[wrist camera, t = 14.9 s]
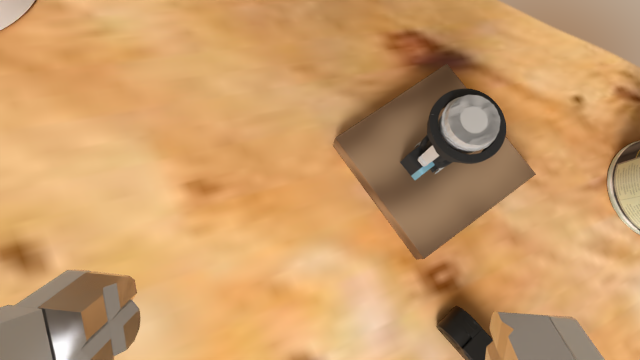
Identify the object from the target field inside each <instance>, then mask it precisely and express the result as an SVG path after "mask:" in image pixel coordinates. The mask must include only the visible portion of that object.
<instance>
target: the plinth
mask: <svg viewBox="0 0 640 360" xmlns="http://www.w3.org/2000/svg"><path fill="white" fill-rule="evenodd" d="M456 89H467V88H466V87H465V86H464V85H463V83H462V82H461V81H460V80H459V78H458V77H457V76H456V75H455V73H454V72H453V71H452V70H451V68H450V67H449V66H448V65H447V64H446V65H444V66H443V67H441V68H440V69H438V70H437V71H435V72H434V73H432V74H431V75H429V76H428V77H426V78H425V79H423V80H422V81H420V82H419V83H417V84H416V85H414V86H413V87H411V88H410V89H408V90H407V91H405V92H404V93H402V94H401V95H399V96H398V97H396V98H395V99H393V100H392V101H390V102H389V103H387V104H386V105H384V106H383V107H381V108H380V109H378V110H377V111H375V112H374V113H372V114H371V115H369V116H368V117H366V118H365V119H363V120H362V121H360V122H359V123H357V124H356V125H354V126H353V127H351V128H350V129H348V130H347V131H345V132H344V133H342V134H341V135H339V136H338V137H336V138H335V141H334V145H333V146H334V148H335V149H336V151H337V152H338V153H339V155H340V156H341V157H342V159H343V160H344V161H345V163H346V164H347V166H348V167H349V168H350V170H351V171H352V172H353V174H354V175H355V176H356V178H357V179H358V181H359V182H360V183H361V185H362V186H363V187H364V189H365V190H366V192H367V193H368V194H369V196H370V197H371V198H372V200H373V201H374V202H375V204H376V205H377V207H378V208H379V209H380V211H381V212H382V213H383V215H384V216H385V218H386V219H387V220H388V222H389V223H390V224H391V226H392V227H393V228H394V230H395V231H396V233H397V234H398V235H399V237H400V238H401V239H402V241H403V242H404V244H405V245H406V246H407V248H408V249H409V250H410V252H411V253H412V254H413V256H414V257H415V259H425V258H426V257H427V256H429V255H430V254H431V253H433V252H434V251H435V250H436V249H438V248H439V247H440V246H442V245H443V244H444V243H446V242H447V241H448V240H450V239H451V238H452V237H454V236H455V235H456V234H458V233H459V232H460V231H462V230H463V229H464V228H466V227H467V226H468V225H470V224H471V223H472V222H473V221H475V220H476V219H477V218H479V217H480V216H481V215H483V214H484V213H485V212H487V211H488V210H489V209H491V208H492V207H493V206H495V205H496V204H497V203H499V202H500V201H501V200H503V199H504V198H505V197H506V196H508V195H509V194H510V193H512V192H513V191H514V190H516V189H517V188H518V187H520V186H521V185H522V184H524V183H525V182H526V181H528V180H529V179H530V178H532V177H533V176H534V175H536V174H535V173H534V171H533V170H532V169H531V168H530V166H529V165H528V164H527V163H526V161H525V160H524V159H523V158H522V157H521V155H520V154H519V153H518V152H517V150H516V149H515V148H514V147H513V145H512V144H511V143H510V142H509V140H508V139H507V138H506V137H505V140H504V142H503V144H502V146H501V148H500V149H499V151H498V152H497V153H496V154H494V155H493V156H492V157H490V158H489V159H487V160H485V161H482V162H479V163H474V164H465V163H457V162H452V163H451V164H449V165H448V166H446V167H444V168H443V169H442V170H440V171H439V172H437V171H438V170H439V169H437V170H436V171H435V172H433V173H432V171H431V170H430V169H429V170H428V171H426V172H425V173H424V174H423V175H421V176H420V177H419V178H418V179H416V180H414V179H413V178H412V177H411V175H410V174H409V173H408V172H407V170H406V169H405V168H404V167H403V165H402V164H401V163H400V162H401V161H402V160H403V159H404V158H405V157H406V156H407V155H408V154H409V153H410V152H412V151H413V150H414V149H416V148H417V147H418V146H419V145H418V146H417V147H416V148H414V147H415V146H416V145H417V144H418V143H419V142H421V141H422V139H423V138H424V137H425V136H426V135H427V122H428V119H429V115H430V112H431V109H432V107H433V106H434V104H435V103H436V102H437V101H438V99H439V98H440V97H442V96H443V95H444V94H446V93H448V92H450V91H452V90H456ZM445 108H446V107H445ZM445 108H443V109H442V110H441V112H440V114H439V118H440V117H441V115H442V113H443V111H444V109H445ZM439 118H438V119H439ZM482 150H483V149H482ZM482 150H479V151H475V152H474V153H471V154H477V153H481V152H482ZM436 172H437V173H436ZM435 173H436V174H435Z"/></svg>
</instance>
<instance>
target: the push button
mask: <svg viewBox="0 0 640 360" xmlns="http://www.w3.org/2000/svg"><path fill="white" fill-rule="evenodd" d="M445 107H446V108H445ZM443 108H445V109H444V111H443V113H442V115H441V117H440V118H439V114H440V112H441V110H442V109H443ZM438 118H439V119H438ZM505 136H506V122H505V118H504V115H503V113H502V111H501V109H500V108H499V106H498V105H497V104H496V103H495V102H494V101H493V100H492V99H491V98H490V97H489V96H487V95H486V94H484V93H482V92H480V91H477V90H473V89H456V90H452V91H450V92H448V93H446V94H444V95H443V96H442V97H440V98H439V99H438V101H437V102H436V103H435V104H434V106H433V107H432V109H431V112H430V115H429V119H428V122H427V135H426V136H425V137H424V138H423V139H422V141H421V142H419V143H418V144H417V145H416V146H415V147H414V148H416V147H417V146H418V145H419V146H418V147H417V148H416V149H414V150H413V151H412V152H410V153H409V154H408V155H407V156H406V157H405V158H404V159H403V160H402V161H401V162H400V163H401V164H402V165H403V167H404V168H405V169H406V170H407V172H408V173H409V174H410V175H411V177H412V178H413V179H414V180H416V179H418V178H419V177H420V176H421V175H423V174H424V173H425V172H426V171H428V170H429V169H430V170H431V171H432V173H433V172H435V171H436V170H437V169H439V170H438V171H437V172H439V171H440V170H442V169H443V168H444V167H446V166H448V165H449V164H451V163H452V162H457V163H465V164H474V163H479V162H482V161H485V160H487V159H489V158H490V157H492V156H493V155H494V154H496V153H497V152H498V151H499V149H500V148H501V146H502V144H503V142H504V140H505ZM482 149H483V150H482ZM479 150H482V152H481V153H477V154H471V153H474V152H475V151H479ZM437 172H436V173H437ZM436 173H435V174H436Z"/></svg>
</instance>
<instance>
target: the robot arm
mask: <svg viewBox="0 0 640 360" xmlns="http://www.w3.org/2000/svg"><path fill="white" fill-rule="evenodd" d="M34 1H35V0H0V30H1V29H3V28H5V27H7V26H9V25H10V24H12V23H13V22H15V21H16V20H17V19H19V18H20V17H21V16H22V15H23V14H24V13H25V12H26V11H27V10H28V9H29V8H30V7H31V5H32V4H33V3H34ZM136 293H137V290H136V284H135V280H134V279H133V278H132V277H130V276H127V275H118V274H110V273H101V272H91V271H84V270H67V271H65V272H64V273H62V274H61V275H59V276H58V277H56V278H55V279H53V280H52V281H50V282H49V283H47V284H46V285H44V286H43V287H41V288H40V289H38V290H37V291H35V292H34V293H32V294H31V295H29V296H28V297H26V298H25V299H23V300H22V301H20V302H19V303H17V304H16V305H14V306H12V305H7V306H3V307H0V360H114V356H115V355H117V354H119V353H121V352H123V351H125V350H127V349H128V348H129V346H130V345H131V344H132V343H133V342H134V340H135V338H136V335H137V333H138V330H139V327H140V311H139V308H138V307H137V306H136V304H135V303H134V302H133V301H132V300H133V298H134V297H135V295H136ZM489 329H490V332H491V335H492V338H493V342H491V343H490V344H489V345H488V346H487V347H486V356H485V360H605V359H604V358H603V356H602V355H601V354H600V352H599V351H598V350H597V348H596V347H595V345H594V344H593V343H592V341H591V340H590V338H589V337H588V336H587V334H586V333H585V331H584V330H583V329H582V327H581V326H580V324H579V323H578V322H577V320H576V319H574V318H572V317H564V316H548V315H531V314H517V313H504V312H493V315H492V317H491V322H490V328H489Z"/></svg>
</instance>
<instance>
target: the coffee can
mask: <svg viewBox="0 0 640 360" xmlns="http://www.w3.org/2000/svg"><path fill="white" fill-rule="evenodd" d="M607 188H608V194H609V198H610V201H611V203H612V206H613V208H614V210H615V211H616V213H617V214H618V216H619V217H620V219H621V220H622V221H623V222H624V223H625V224H626V225H627V226H628V227H629V228H630V229H631V230H633V231H634V232H636V233H637V234H639V235H640V141H637V142H634V143H631V144H629V145H627V146H626V147H624V148H623V149H622V150H620V151H619V152H618V153H617V155H616V156H615V157H614V159H613V161H612V162H611V165H610V167H609V170H608V176H607Z"/></svg>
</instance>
